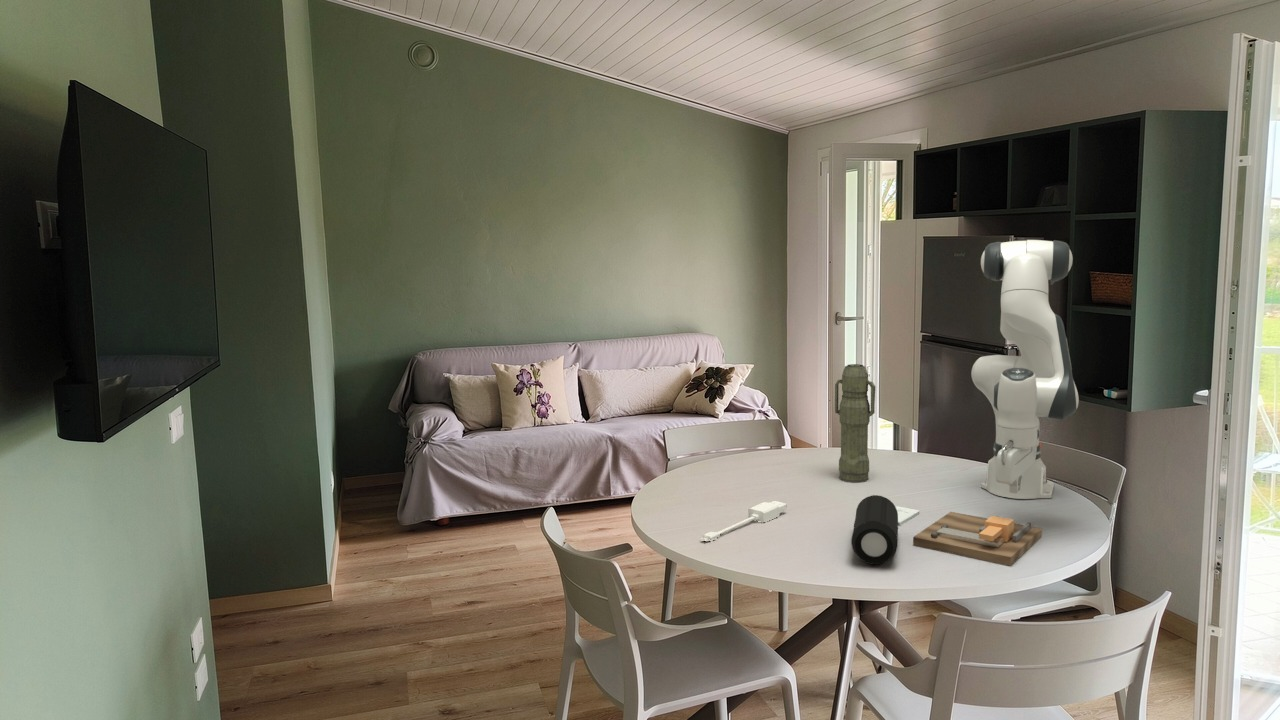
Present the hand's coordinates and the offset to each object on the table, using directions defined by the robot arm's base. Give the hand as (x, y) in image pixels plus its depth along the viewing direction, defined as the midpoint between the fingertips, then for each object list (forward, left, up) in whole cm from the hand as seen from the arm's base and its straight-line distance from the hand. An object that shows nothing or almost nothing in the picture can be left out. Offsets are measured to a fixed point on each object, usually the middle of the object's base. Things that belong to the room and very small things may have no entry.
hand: (1015, 491), depth 203 cm
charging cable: (+35, -55, -11) cm, 66 cm away
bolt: (+15, 0, -8) cm, 17 cm away
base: (+11, -5, -10) cm, 16 cm away
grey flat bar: (+17, -5, -8) cm, 19 cm away
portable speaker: (+30, -22, -11) cm, 39 cm away
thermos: (-22, -53, -11) cm, 58 cm away
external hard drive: (+5, -28, -11) cm, 31 cm away
